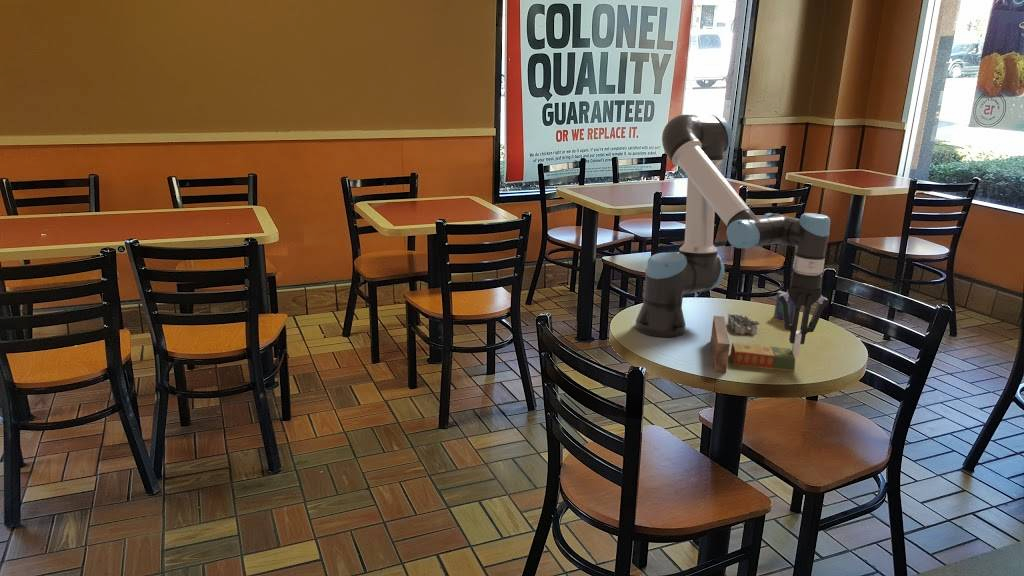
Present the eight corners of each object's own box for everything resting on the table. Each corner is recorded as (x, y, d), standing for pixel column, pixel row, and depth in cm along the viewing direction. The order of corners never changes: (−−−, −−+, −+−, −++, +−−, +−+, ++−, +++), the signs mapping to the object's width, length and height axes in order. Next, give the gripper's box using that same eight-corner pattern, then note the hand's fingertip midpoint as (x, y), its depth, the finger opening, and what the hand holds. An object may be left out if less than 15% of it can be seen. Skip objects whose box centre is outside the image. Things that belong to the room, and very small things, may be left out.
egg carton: (758, 336, 226) (760, 323, 225) (734, 335, 226) (736, 322, 225) (748, 324, 237) (749, 312, 235) (724, 323, 236) (726, 311, 235)
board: (714, 371, 197) (718, 343, 194) (710, 341, 219) (713, 315, 217) (726, 372, 196) (729, 344, 194) (720, 342, 219) (724, 316, 216)
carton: (730, 355, 209) (732, 341, 208) (789, 361, 207) (791, 347, 205) (732, 365, 202) (734, 351, 200) (794, 372, 199) (796, 357, 198)
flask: (771, 316, 244) (776, 285, 241) (778, 316, 245) (783, 285, 242) (792, 325, 236) (797, 293, 233) (799, 324, 237) (804, 293, 234)
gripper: (784, 273, 194) (771, 356, 201) (836, 277, 192) (822, 362, 198) (780, 266, 201) (768, 347, 208) (830, 270, 199) (817, 352, 205)
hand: (794, 354), depth 203 cm, fingers closed
